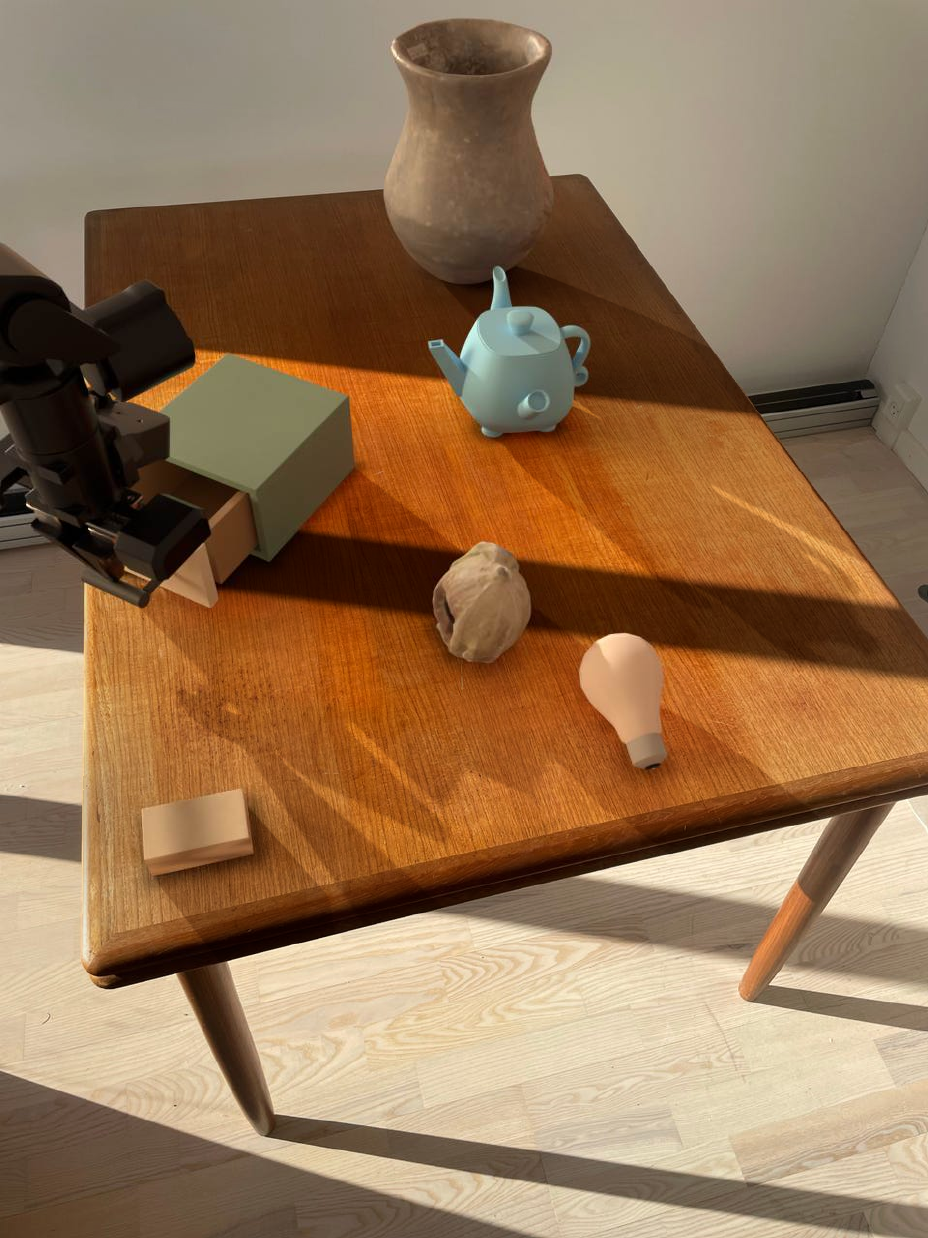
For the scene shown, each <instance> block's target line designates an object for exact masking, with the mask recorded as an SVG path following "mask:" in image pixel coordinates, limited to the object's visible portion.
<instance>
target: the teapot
mask: <svg viewBox="0 0 928 1238" xmlns="http://www.w3.org/2000/svg"><path fill="white" fill-rule="evenodd" d="M508 284H509V283H508V278H507V275H506V272H504V271H503V269H502V268H501V267H499V266H496V267H494V269H493V296H492V302H491V306H490V309H489V310H485V311H484V312H482V313H481V314H480V315H479V316H478V317H477V319H476V321H475V322H474V324H473V326H472V327H471V329H470V331H469V332H468V335H467V337H466V339H465V341H464V344H463V346H462V350H461V352H460V356H459V357H458V355H456V354H455V352H454V351H452V350H451V348H450V347H449V346H448V345H447V344H446V343H445V342H444V339H443V338H441V339H436V340H435V339H434V340H428V341H427V343H428V349H429V351H430V354H431V355H432V357H433V359H434V360H435V362H436V363H437V365H438V367H439V369H440V371H441V372H442V374H443V375H444V377H445V379H446V380H447V382H448V384H449V386H450V387H451V389H452V391H453V393H454V394H455V396H456V397H458V398H460V400H461V402H462V405H464V407H465V409H466V410H467V411H468V413H469V414H470V415H471V417H472V418H473V419H474V421H475V422H476V423H477V424H478V425H479V426H480V427H481V433H482V435H484V436H486V437H489V438H498V437H500V436H502V435H503V434H507V433H508V434H513V433H527V432H535V431H539V432H542V433H549V432H552V431H554V430H555V429H556V426H557V425H558V424H559V423H560V422H562V420H563V419H564V418H566V416H567V415H568V414H569V413H570V411H571V409H572V407H573V404H574V398H575V388H577V387H581V386H583V385H585V384H586V383H587V382H588V379H589V371H588V369H587V367H586V366H583V364H584V362H585V360H586V358H587V356H588V354H589V352H590V349H591V338H590V335H589V334H588V332H587V331H586V330H585V329H584V328H582V327H580V326H578V325H573V324H572V325H571V324H569V325H565V326H562V327H559V324H558V323H557V322H556V320H555V319H554V318H553V316H551V315H550V313H548V312H547V311H546V310H544V309H542V308H540V307H537V306H528V305H527V306H526V305H525V306H513V304H512V301H511V295H510V290H509V285H508ZM569 338H579V339H580V344H579V347H578V349H577V351H576V353H575V355H574V356H573V358H572V357H571V354H570V351H569V348H568V345H567V343H566V339H569Z"/></svg>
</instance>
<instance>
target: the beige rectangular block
mask: <svg viewBox="0 0 928 1238" xmlns="http://www.w3.org/2000/svg"><path fill="white" fill-rule="evenodd" d="M250 821H251V820H250V813H249V806H248V802H247V799H246V795H245V792H244V788H237V789H232V790H227V791H223V792H217V793H212V794H208V795H203V796H198V797H194V798H189V799H183V800H179V801H174V802H169V803H165V804H160V805H154V806H149V807H146V808H142V809H141V824H142V826H141V827H142V840H143V843H142V844H143V860H144V862H145V865H146V866H147V868H148V870H149V872H150V874H151V876H152V877H155V876H160V875H164V874H165V875H166V874H169V873H173V872H177V871H183V870H187V869H192V868H197V867H201V866H205V865H210V864H215V863H218V862H219V863H220V862H224V861H228V860H232V859H237V858H241V857H247V856H250V855H254V854H255V850H254V843H253V835H252V827H251V822H250Z"/></svg>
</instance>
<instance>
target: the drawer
mask: <svg viewBox="0 0 928 1238" xmlns="http://www.w3.org/2000/svg"><path fill="white" fill-rule="evenodd" d="M137 470H138V473H139V476H140V480H139V481H138V482H137V483H136V484H135V485H134V486H133V487H132V488H131V489H130V490H133V491H135V492H137V493H140V494H142V496H143V501H141V503H143V504H145V505H146V504H147V503H148V502H149V501H150V500H151V499H152V498H153V497H154V496H155V495H157V494H158V493H161V494H169V495H171V496H174V497H176V498H178V499H181V500H183V501H186V502H188V503H191V504H193V505H196V506H198V507H200V508H203V509H205V511H206V514H207V518H208V522H209V525H210V530H211V535H210V536H209V537H208V538H207V539H206V540H205V542H204V543H203V544H202V545H201V546H200V547H199V548H198V549H197V550H196V551H195V552H194V553H193V554H192V555H191V556H190V557H189V558H188V559H187V560H186V562H185V563H184V564H183V565H182V566H181V567H180V568H179V569H178V570H177V571H176V572H175V573H174V574H173V575H172V576H171V577H170V578H169V579H168V580H163V581H159V582H156V581H154V580H152V579H150V578H147V577H145V576H143V575H141V574H138V573H136V572H134V571H132V570H129V569H128V568H127V567H126V566H125V569H124V572H127V573H130V574H131V575H134V576H136V577H139V578H141V579H143V580H146V581H147V583H146V585H144V586H143V587H142V588H139V587H137V586H135V585H133V584H130V583H128V582H127V581H124V580H122V579H120V580H119V581H118V582H117V583H113V582H111V581H109V580H107V579H105V578H104V577H102V576H101V575H99V574H98V573H97V572H95V571H94V570H92V569H91V568H90V567H88V566H86V567H85V568H84V569H83V570H82V571H81V574H80V580H81V582H82V583H85V584H86V585H88V586H91V587H93V588H95V589H98V590H100V591H102V592H104V593H106V594H109V595H111V596H113V597H114V598H115V597H116V598H117V599H119V600H122V601H124V602H125V603H128V604H131V605H133V606H135V607H138V608H139V609H144V608H146V607H147V606H148V605H149V603H150V601H151V595H152V594H153V593H154V592H155V591H156V589H157V588H159V587H161V588H163V589H166V590H168V591H170V592H172V593H175V594H177V595H179V596H182V597H184V598H186V599H188V600H190V601H192V602H194V603H196V604H197V603H198V604H199V605H202V606H204V607H206V608H209V609H212V608H213V607H214V606H215V605H216V603H218V601H219V599H220V598H219V594H218V590H217V586H216V583H217V584H220V585H222V584H223V583H224V582H225V581H226V580H227V579H228V578H229V577H230V576H231V574H233V572H234V571H235V570H236V569H237V568H238V567H239V566H240V565H241V564H242V562H243V561H244V560H246V559H247V558H248V556H249V555H251V554H250V553H251V552H252V551H253V550H254V548H255V547H256V546H257V545H258V544H259V539H258V534H257V529H256V524H255V518H254V513H253V508H252V503H251V498H250V494H249V493H246V492H244V491H241V490H239V489H236V488H234V487H231V486H229V485H226V484H224V483H221V482H219V481H216V480H214V479H211V478H209V477H206V476H204V475H201V474H198V473H196V472H193V471H191V470H188V469H186V468H183V467H181V466H178V465H176V464H173V463H171V462H168V461H166V460H164V461H163V460H158V461H156V462H154V463H151V464H149V465H147V466H145V467H142V468H140V469H137ZM125 488H126V487H125ZM128 489H129V488H128ZM215 582H216V583H215Z"/></svg>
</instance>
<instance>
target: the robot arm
mask: <svg viewBox="0 0 928 1238" xmlns="http://www.w3.org/2000/svg"><path fill="white" fill-rule="evenodd" d="M166 297H167V296H166V293H165V291H164V289H162V288H161V287H160V286H158V285H156V284H155V283H154V282H153V281H151V280H149V279H147V278H144V279H141V280H139V281H137V282H134V283H133V284H131V285H129V286H128V287H127V288H125V289H124V290H123V291H121V292H118V293H117V294H115V295H112V296H110V297H108V298H106V299H104V300H101V301H99V302H96V303H95V304H92V305H91V306H88V307H86V308H84V309H81V308H80V307H79V306H77V304H75V303H73V302H72V301H71V300H70V299H69V298H68V296H67V295H66V293H65V291H64V290H63V287H62V286H61V285H59V283H57V282H56V281H54V280H53V279H52V278H50V277H49V276H48V275H46V274H45V272H42V271H41V270H40V269H38V268H37V267H36V266H35V265H33V264H32V263H31V262H29V261H28V260H26V259H25V258H24V257H22V256H21V255H20V254H19V253H18V252H16V251H15V250H13V249H12V248H11V247H9V246H8V245H7V244H6V243H2V242H0V414H1V416H2V418H3V420H4V422H5V426H6V427H7V429H8V433H7V434H6V435H5V436H4V437H2V438H1V439H0V510H2V509H3V508H4V507H5V506H6V505H7V504H8V503H9V502H8V501H7V498H6V495H5V493H7V492H8V490H9V489H10V488H12V487H13V486H14V485H18V486H20V487H23V488H25V489H28V490H29V491H28V492H27V493H26V494H25V495H24V498H25V499H26V502H25V505H26V507H27V509H30V510H32V511H33V513H34V514H35V516H36V517H35V518H34V519H33V520H32V521H31V523H30V528H31V529H32V530H33V532H35V533H37V534H39V535H40V536H42V537H44V539H47V540H48V541H50V542H51V543H53V544H54V545H55V546H57V547H58V548H60V549H62V550H63V551H64V552H66V553H68V554H69V555H70V556H72V557H73V558H75V559H77V560H78V561H80V562H81V563H82V564H84V565H85V566H86V567H90V568H91V569H92V570H94V571H95V572H97V573H98V574H99V575H101V576H102V577H104V578H105V579H107V580H109V581H111V582H113V583H117V582H118V581H119V580H122V578H123V577H124V575H125V570H124V569H125V566H126V567H127V568H128V569H129V570H132V571H134V572H136V573H138V574H141V575H143V576H145V577H147V578H150V579H152V580H154V581H156V582H159V581H163V580H168V579H169V578H170V577H171V576H172V575H173V574H174V573H175V572H176V571H177V570H178V569H179V568H180V567H181V566H182V565H183V564H184V563H185V562H186V560H187V559H188V558H189V557H190V556H191V555H192V554H193V553H194V552H195V551H196V550H197V549H198V548H199V547H200V546H201V545H202V544H203V543H204V542H205V540H206V539H207V538H208V537H209V536H210V535H211V530H210V525H209V522H208V518H207V514H206V511H205V509H203V508H200V507H198V506H196V505H193V504H191V503H188V502H186V501H183V500H181V499H178V498H176V497H174V496H171V495H169V494H161V493H158V494H157V495H155V496H154V497H153V498H152V499H151V500H150V501H149V502H148V503H147V504H146V505H145V504H143V503H141V501H143V496H142V494H140V493H137V492H135V491H133V490H130V489H131V488H132V487H133V486H134V485H135V484H136V483H137V482H138V481H139V480H140V476H139V473H138V470H137V469H140V468H142V467H145V466H147V465H149V464H151V463H154V462H156V461H158V460H163V461H164V460H166V459H168V458H169V457H170V418H169V417H168V416H167V415H164V414H162V413H159V411H157V410H154V409H152V408H149V407H146V406H143V405H141V404H138V403H136V402H130V400H132V399H134V398H137V397H138V396H140V395H141V394H144V393H145V392H148V391H150V390H151V389H154V388H155V387H157V386H160V385H161V384H163V383H165V382H167V381H169V380H171V379H172V378H175V377H177V376H179V375H181V374H183V373H185V372H187V371H188V370H191V369H192V368H193V367H195V364H196V360H197V356H196V348H195V344H194V342H193V340H192V338H191V337H189V335H188V334H187V332H186V329H185V328H184V326H183V324H182V322H181V321H180V319H179V317H178V316H177V314H176V312H175V311H174V310H173V309H172V307H171V306H170V304H168V301H167V298H166ZM86 382H87V383H86ZM87 384H88V385H89V386H87ZM112 397H114V398H112ZM125 487H126V488H125ZM128 488H129V489H128Z"/></svg>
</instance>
